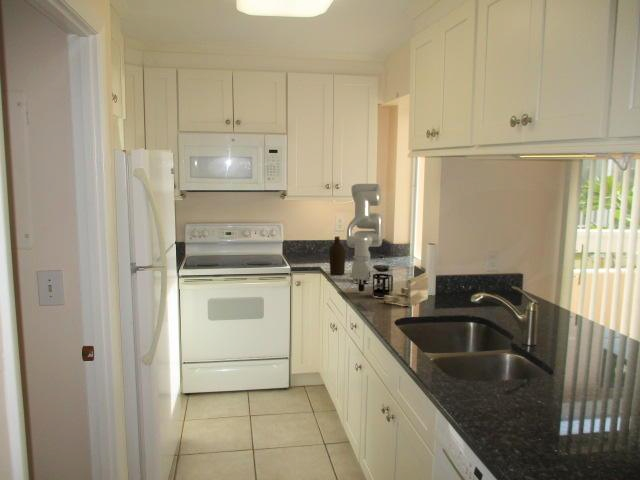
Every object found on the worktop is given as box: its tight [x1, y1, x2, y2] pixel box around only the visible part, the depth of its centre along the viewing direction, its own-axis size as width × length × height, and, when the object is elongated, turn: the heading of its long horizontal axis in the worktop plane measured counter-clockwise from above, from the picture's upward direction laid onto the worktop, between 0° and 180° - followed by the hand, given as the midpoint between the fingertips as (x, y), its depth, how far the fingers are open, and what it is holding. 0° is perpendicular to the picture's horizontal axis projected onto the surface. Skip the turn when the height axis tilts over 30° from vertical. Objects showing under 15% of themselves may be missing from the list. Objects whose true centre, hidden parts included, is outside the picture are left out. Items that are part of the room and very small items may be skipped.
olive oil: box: [328, 236, 346, 276], centre depth 321 cm, size 11×11×25 cm
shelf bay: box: [383, 272, 429, 306], centre depth 255 cm, size 15×21×14 cm
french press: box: [372, 254, 394, 297], centre depth 263 cm, size 12×9×23 cm
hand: (361, 291), depth 272 cm, fingers closed
